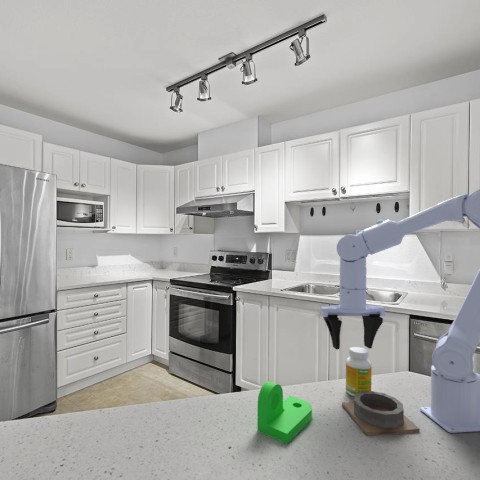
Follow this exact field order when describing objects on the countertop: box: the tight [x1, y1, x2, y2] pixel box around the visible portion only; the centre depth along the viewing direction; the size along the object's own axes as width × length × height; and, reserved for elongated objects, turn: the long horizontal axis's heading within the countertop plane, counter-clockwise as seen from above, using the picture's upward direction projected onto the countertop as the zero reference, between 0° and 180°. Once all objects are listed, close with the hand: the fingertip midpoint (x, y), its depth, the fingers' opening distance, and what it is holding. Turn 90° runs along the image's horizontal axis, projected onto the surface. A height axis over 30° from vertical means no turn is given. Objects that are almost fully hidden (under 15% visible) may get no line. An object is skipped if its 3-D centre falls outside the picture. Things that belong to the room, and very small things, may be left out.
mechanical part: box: [256, 380, 313, 444], centre depth 59 cm, size 12×6×8 cm, turn 142°
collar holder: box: [341, 390, 421, 436], centre depth 61 cm, size 10×10×3 cm
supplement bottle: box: [345, 346, 373, 398], centre depth 71 cm, size 5×5×10 cm
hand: (352, 347), depth 72 cm, fingers open, 7 cm apart
